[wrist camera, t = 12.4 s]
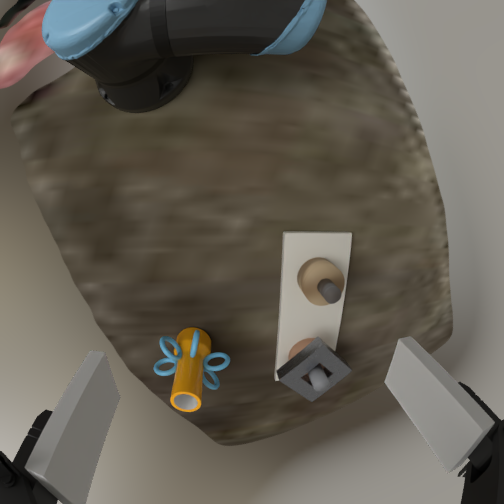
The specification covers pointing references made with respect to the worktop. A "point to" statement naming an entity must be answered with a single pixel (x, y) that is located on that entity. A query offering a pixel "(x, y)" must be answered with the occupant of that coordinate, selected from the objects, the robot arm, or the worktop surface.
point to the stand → (320, 281)
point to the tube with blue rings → (190, 367)
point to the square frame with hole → (307, 360)
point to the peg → (315, 374)
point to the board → (294, 301)
